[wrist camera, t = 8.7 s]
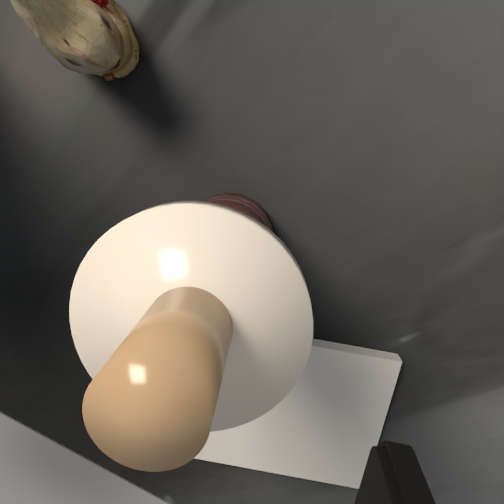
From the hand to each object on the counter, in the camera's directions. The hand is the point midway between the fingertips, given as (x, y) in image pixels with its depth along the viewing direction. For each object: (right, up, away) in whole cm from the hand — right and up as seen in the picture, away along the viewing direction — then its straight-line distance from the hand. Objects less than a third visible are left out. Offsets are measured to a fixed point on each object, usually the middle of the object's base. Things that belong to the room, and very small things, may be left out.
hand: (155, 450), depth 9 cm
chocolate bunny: (-8, +19, +18) cm, 27 cm away
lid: (0, +2, +7) cm, 7 cm away
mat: (+4, -8, +24) cm, 25 cm away
